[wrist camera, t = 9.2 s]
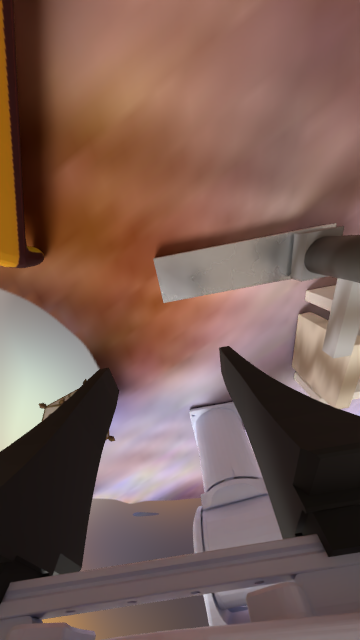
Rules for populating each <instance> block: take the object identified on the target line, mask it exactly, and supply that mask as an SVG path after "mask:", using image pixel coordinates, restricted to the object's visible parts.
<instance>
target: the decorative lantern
mask: <svg viewBox="0 0 360 640" xmlns="http://www.w3.org/2000/svg"><path fill="white" fill-rule="evenodd" d="M43 260H44V254H43V253H42V252H41V251H40V250H39V249H37V248H35V247H31V246H27V245H26V239H25V222H24V202H23V183H22V164H21V145H20V126H19V107H18V88H17V68H16V49H15V30H14V11H13V0H0V265H1V266H5V267H10V268H26V267H31V266H35V265H38V264H40V263H41V262H43Z"/></svg>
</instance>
